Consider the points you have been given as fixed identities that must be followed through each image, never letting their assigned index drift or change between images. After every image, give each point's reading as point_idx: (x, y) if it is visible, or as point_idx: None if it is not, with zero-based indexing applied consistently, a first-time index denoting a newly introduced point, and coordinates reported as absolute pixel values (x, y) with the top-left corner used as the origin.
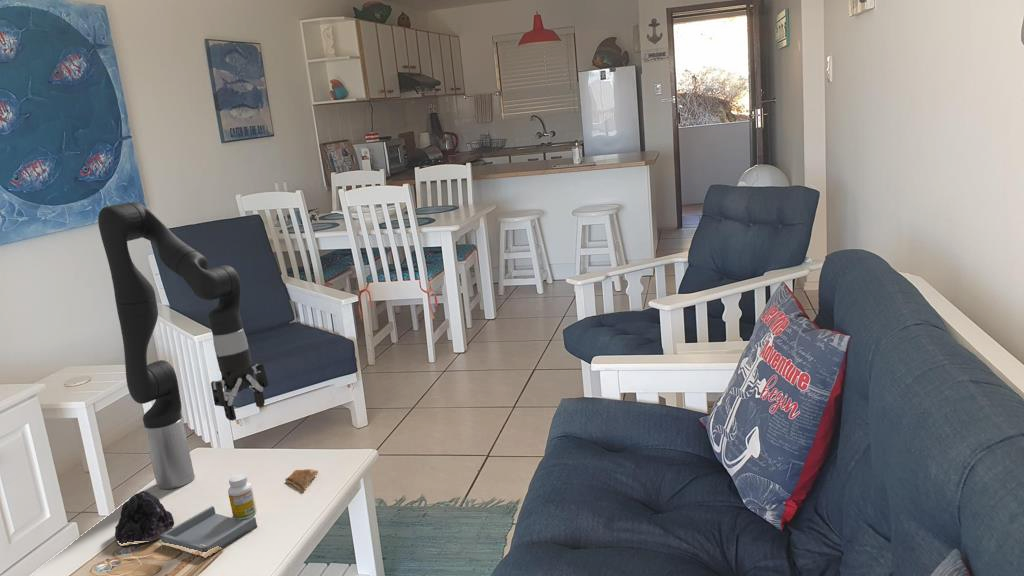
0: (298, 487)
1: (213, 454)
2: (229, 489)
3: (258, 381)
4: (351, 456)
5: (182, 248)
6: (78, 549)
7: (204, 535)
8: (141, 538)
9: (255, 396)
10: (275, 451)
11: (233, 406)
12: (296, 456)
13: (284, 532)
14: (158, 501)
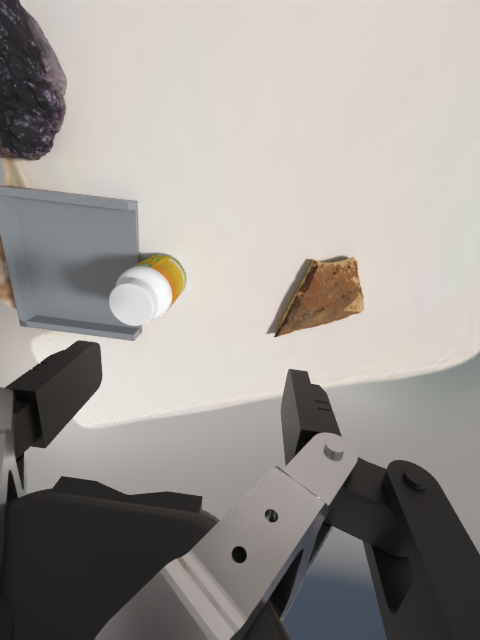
0: (284, 316)
1: None
2: (119, 283)
3: (398, 527)
4: (452, 331)
5: None
6: None
7: (68, 261)
8: None
9: (294, 420)
10: None
11: (51, 440)
12: (465, 175)
13: (147, 386)
14: (20, 44)
